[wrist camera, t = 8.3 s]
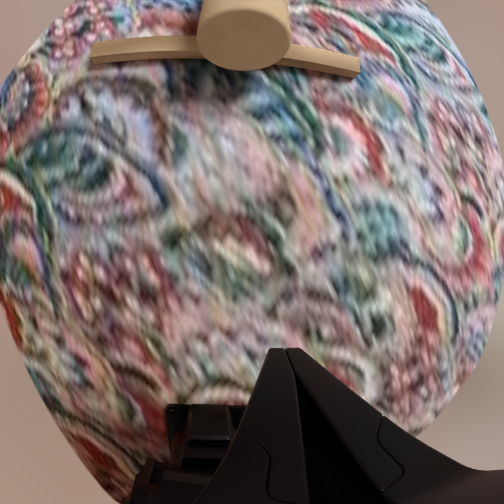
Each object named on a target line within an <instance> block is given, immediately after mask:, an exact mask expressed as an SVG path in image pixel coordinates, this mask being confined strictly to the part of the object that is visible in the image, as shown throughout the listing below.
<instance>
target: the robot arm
mask: <svg viewBox="0 0 504 504" xmlns="http://www.w3.org/2000/svg"><path fill="white" fill-rule="evenodd" d="M170 409H173V410H175V412H172V411H170ZM244 411H245V412H244ZM243 412H244V413H243ZM166 421H167V430H168V439H169V448H170V462H169V464H168V463H163V462H158V461H156V460H155V459H150V458H147V460H146V463H145V465H142V467H141V469H140V472H139V474H136V477H135V481H134V485H133V488H132V491H131V493H130V494H129V495H128V497H127V498H126V499H125V501H124V502H123V504H504V470H490V471H484V470H476V469H472V468H469V467H466V466H464V465H462V464H460V463H458V462H456V461H455V460H453V459H451V458H449V457H447V456H446V455H444V454H442V453H440V452H438V451H437V450H435V449H433V448H431V447H429V446H428V445H426V444H424V443H423V442H421V441H420V440H418V439H417V438H415V437H413V436H412V435H410V434H409V433H407V432H406V431H404V430H403V429H402V428H400V427H399V426H397V425H396V424H395V423H393V422H392V421H391V420H389V419H388V418H387V417H386V416H382V414H381V413H380V412H379V411H378V410H376V409H375V408H374V407H372V406H371V405H370V404H369V403H367V402H366V401H365V400H364V399H362V398H361V397H360V396H359V395H357V394H356V393H355V392H354V391H352V390H351V389H350V388H349V387H347V386H346V385H345V384H344V383H342V382H341V381H340V380H339V379H337V378H336V377H335V376H334V375H332V374H331V373H330V372H329V371H328V370H326V369H325V368H324V367H323V366H321V365H320V364H319V363H318V362H317V361H315V360H314V359H313V358H312V357H311V356H309V355H308V354H307V353H306V352H305V351H303V350H302V349H301V348H286V349H283V348H270V349H269V350H268V353H267V355H266V358H265V361H264V363H263V366H262V368H261V371H260V374H259V376H258V379H257V381H256V384H255V387H254V389H253V392H252V394H251V397H250V399H249V402H248V404H247V406H226V405H208V404H192V405H183V404H169V405H168V406H167V407H166Z"/></svg>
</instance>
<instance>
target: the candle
mask: <svg viewBox="0 0 504 504" xmlns="http://www.w3.org/2000/svg"><path fill="white" fill-rule="evenodd" d="M290 43H291V28H290V21H289V13H288V7H287V0H203V4H202V8H201V13H200V18H199V23H198V29H197V45H198V48H199V50H200V52H201V54H202V55H203V56H204V57H205V58H206V59H207V60H209V61H210V62H211V63H213V64H215V65H217V66H220V67H223V68H226V69H230V70H238V71H250V70H258V69H262V68H265V67H268V66H270V65H273V64H274V63H276V62H278V61H279V60H280V59H282V58H283V57H284V56H285V54H286V53H287V51H288V50H289V47H290Z"/></svg>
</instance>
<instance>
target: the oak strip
mask: <svg viewBox="0 0 504 504" xmlns="http://www.w3.org/2000/svg"><path fill="white" fill-rule="evenodd" d="M89 58H90V59H91V60H92V62H93V63H94V64H100V63H109V62H119V61H131V60H148V59H206V58H205V57H204V56H203V55H202V54H201V52H200V50H199V48H198V45H197V36H154V37H138V38H127V39H117V40H109V41H101V42H94V43H93V46H92V50H91V53H90V57H89ZM274 64H275V65H283V66H290V67H297V68H303V69H309V70H314V71H320V72H325V73H330V74H335V75H340V76H344V77H348V78H353V79H354V78H355V77H356V76H357V75H358V74H359V73H360V64H359V58H357V57H353V56H349V55H345V54H341V53H336V52H332V51H327V50H323V49H318V48H313V47H307V46H302V45H296V44H290V47H289V50H288V51H287V53H286V54H285V56H284V57H283V58H282V59H280V60H279V61H278V62H276V63H274Z"/></svg>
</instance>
